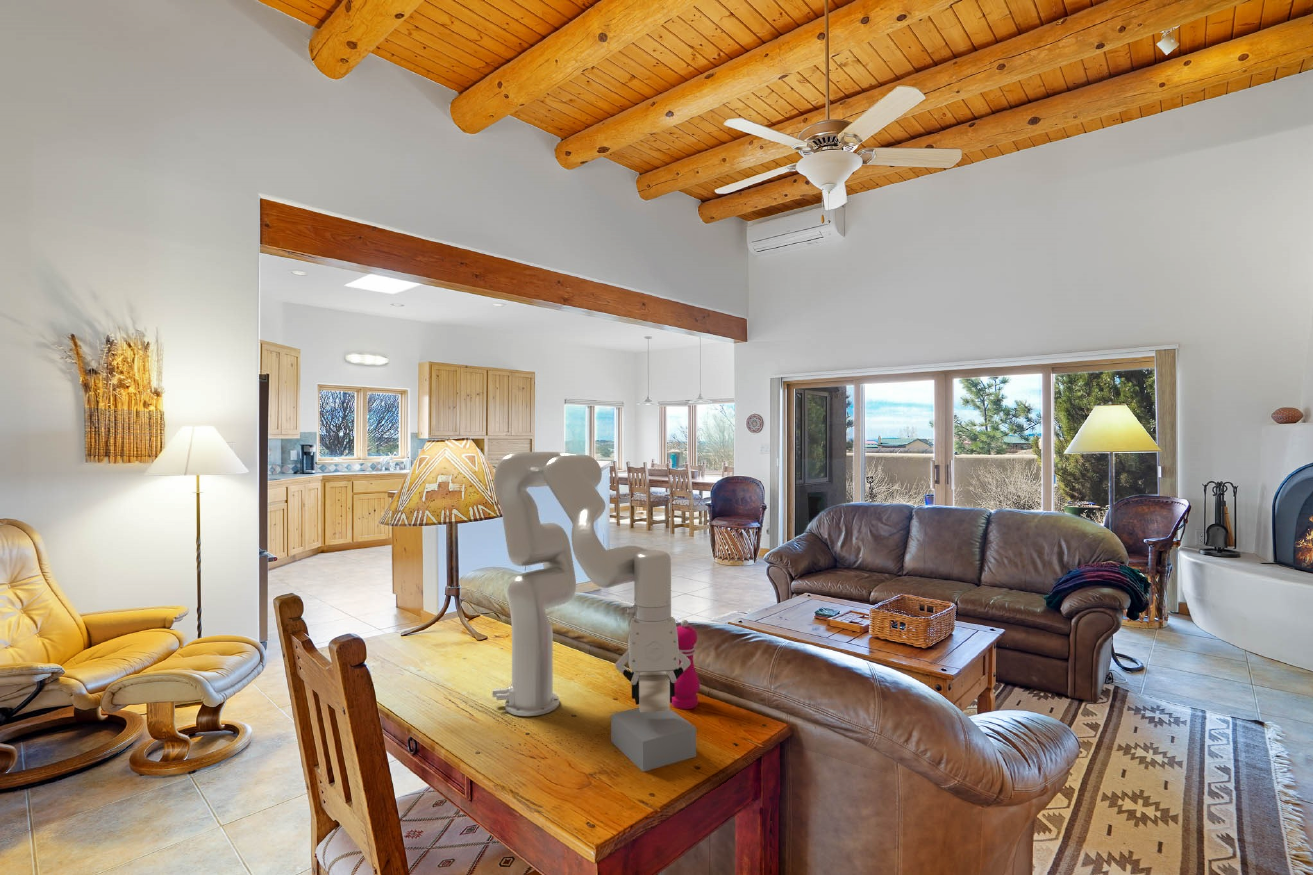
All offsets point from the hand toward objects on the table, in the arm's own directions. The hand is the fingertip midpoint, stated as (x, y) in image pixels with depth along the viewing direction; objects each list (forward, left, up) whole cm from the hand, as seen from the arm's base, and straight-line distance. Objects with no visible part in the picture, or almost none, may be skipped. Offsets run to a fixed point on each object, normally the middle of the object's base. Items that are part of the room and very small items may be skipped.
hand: (653, 700), depth 128 cm
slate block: (0, 0, -10) cm, 10 cm away
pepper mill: (+10, +21, -10) cm, 25 cm away
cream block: (0, 0, -1) cm, 1 cm away
